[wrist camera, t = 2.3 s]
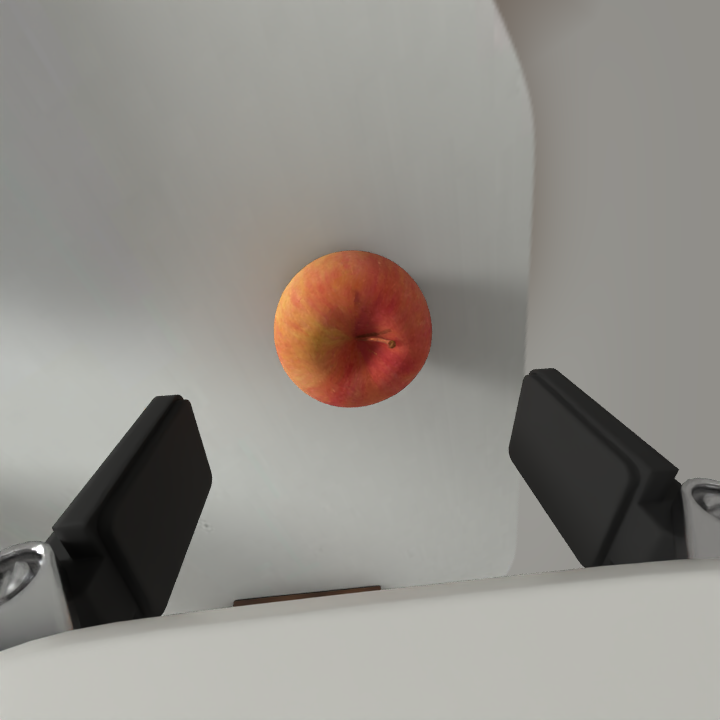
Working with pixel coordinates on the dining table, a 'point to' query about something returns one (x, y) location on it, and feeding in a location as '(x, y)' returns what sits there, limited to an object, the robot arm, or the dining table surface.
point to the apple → (352, 329)
